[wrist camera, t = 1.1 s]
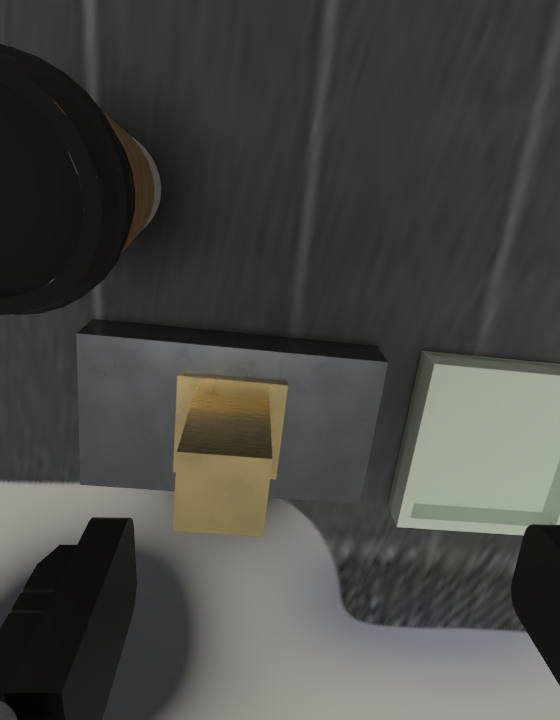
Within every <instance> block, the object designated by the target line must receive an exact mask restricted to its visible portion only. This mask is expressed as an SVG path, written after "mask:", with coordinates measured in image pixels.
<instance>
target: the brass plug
mask: <svg viewBox="0 0 560 720" xmlns="http://www.w3.org/2000/svg"><path fill="white" fill-rule="evenodd" d="M287 391H288V382H285V381H273V380H262V379H251V378H239V377H228V376H217V375H205V374H194V373H183V372H179V373H178V376H177V396H176V417H175V438H174V460H173V472H176V477H175V499H174V518H173V531H182V532H197V533H213V534H228V535H244V536H261V537H263V533H264V524H265V517H266V509H267V500H268V492H269V484H270V479H276V477H277V469H278V461H279V453H280V445H281V438H282V430H283V422H284V414H285V406H286V399H287Z"/></svg>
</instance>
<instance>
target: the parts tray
mask: <svg viewBox="0 0 560 720" xmlns="http://www.w3.org/2000/svg"><path fill="white" fill-rule="evenodd" d="M388 507H389V509H390V512H391V514H392V516H393V519H394V521H395V524H396V526H397V527H405V528H420V529H435V530H450V531H465V532H480V533H496V534H511V535H524V533H525V530H526V528H527V527H528V526H529V525H532V524H551V525H560V364H557V363H546V362H536V361H525V360H515V359H504V358H494V357H483V356H473V355H462V354H452V353H441V352H431V351H421V356H420V361H419V365H418V370H417V374H416V379H415V383H414V388H413V392H412V397H411V401H410V406H409V410H408V415H407V419H406V424H405V429H404V433H403V438H402V442H401V447H400V451H399V456H398V460H397V465H396V469H395V474H394V478H393V483H392V487H391V492H390V496H389V501H388Z"/></svg>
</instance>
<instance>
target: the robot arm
mask: <svg viewBox="0 0 560 720" xmlns="http://www.w3.org/2000/svg"><path fill="white" fill-rule="evenodd" d="M136 588H137V577H136V558H135V540H134V525H133V520H132V519H131V518H92V519H91V520H90V521H89V523H88V525H87V527H86V529H85V531H84V533H83V535H82V537H81V539H80V541H79V543H78V545H59V546H58V547H57V548H56V549H55V550H54V551H52V552H51V553H50V554H49V555H48V556H46V557H45V558H44V559H43V560H42V561H41V562H40V563H38V564H37V566H36V568H35V569H34V571H33V573H32V574H31V576H30V578H29V580H28V581H27V583H26V585H25V587H24V590H23V593H21V594H20V595H19V597H18V599H17V600H16V602H15V604H14V606H13V607H12V612H11V614H8V616H7V618H6V620H5V621H4V623H3V625H2V627H1V628H0V720H103V716H104V713H105V709H106V706H107V702H108V699H109V695H110V692H111V688H112V685H113V681H114V678H115V674H116V671H117V667H118V664H119V661H120V657H121V654H122V650H123V646H124V643H125V640H126V636H127V633H128V629H129V625H130V622H131V619H132V615H133V610H134V605H135V599H136ZM511 596H512V602H513V606H514V609H515V612H516V614H517V616H518V618H519V620H520V621H521V623H522V625H523V626H524V628H525V630H526V631H527V633H528V634H529V636H530V638H531V639H532V641H533V643H534V644H535V646H536V647H537V649H538V651H539V652H540V654H541V656H542V657H543V659H544V661H545V662H546V664H547V666H548V667H549V669H550V670H551V672H552V674H553V675H554V677H555V679H556V680H557V682H558V683H559V685H560V525H551V524H532V525H529V526H528V527H527V528H526V530H525V533H524V536H523V540H522V544H521V548H520V552H519V556H518V560H517V564H516V568H515V572H514V575H513V579H512V584H511Z"/></svg>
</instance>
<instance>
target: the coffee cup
mask: <svg viewBox="0 0 560 720" xmlns="http://www.w3.org/2000/svg"><path fill="white" fill-rule="evenodd" d="M160 198H161V181H160V175H159V172H158V170H157V167H156V164H155V162H154V161H153V159H152V157H151V155H150V154H149V153H148V151H147V150H146V149H145V148H144V146H143V145H141V144H140V143H139V142H138V141H137V140H136V139H134V138H133V137H132V136H131V135H129V134H128V133H127V132H126V131H124V130H123V129H122V128H121V127H120V126H119V125H118V124H116V123H115V122H114V121H113V120H112V119H111V118H110V117H108V116H107V115H106V114H105V113H104V112H103V111H102V110H101V109H100V108H99V107H98V105H97V104H96V103H95V102H94V100H93V99H92V98H91V97H90V95H89V94H88V93H87V92H86V91H85V90H84V89H83V88H82V87H80V86H79V85H78V84H77V83H76V82H75V81H73V80H72V79H71V78H70V77H69V76H68V75H67V74H65V73H64V72H63V71H61V70H59V69H58V68H56V67H54V66H53V65H51V64H49V63H48V62H46V61H44V60H43V59H41V58H39V57H37V56H34V55H31V54H29V53H26V52H23V51H21V50H18V49H15V48H13V47H8V46H5V45H2V44H0V315H6V314H14V315H23V314H38V313H44V312H47V311H51V310H55V309H58V308H62V307H64V306H66V305H68V304H70V303H72V302H74V301H76V300H78V299H80V298H82V297H83V296H84V295H85V294H87V293H88V292H89V291H90V290H92V289H93V288H94V287H95V286H96V285H98V284H99V283H100V282H101V281H102V280H104V278H105V277H106V276H107V274H108V273H109V272H110V270H111V269H112V268H113V266H114V265H115V264H116V262H117V261H118V259H119V257H120V255H121V253H122V252H123V251H124V250H125V249H126V248H127V247H128V246H129V244H130V243H131V242H132V241H133V240H134V239H135V238H136V237H137V236H138V234H139V233H140V232H141V231H142V230H143V229H144V228H145V227H146V226H147V225H148V224H149V223H150V221H151V220H152V219H153V217H154V215H155V213H156V211H157V209H158V207H159V203H160Z"/></svg>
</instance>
